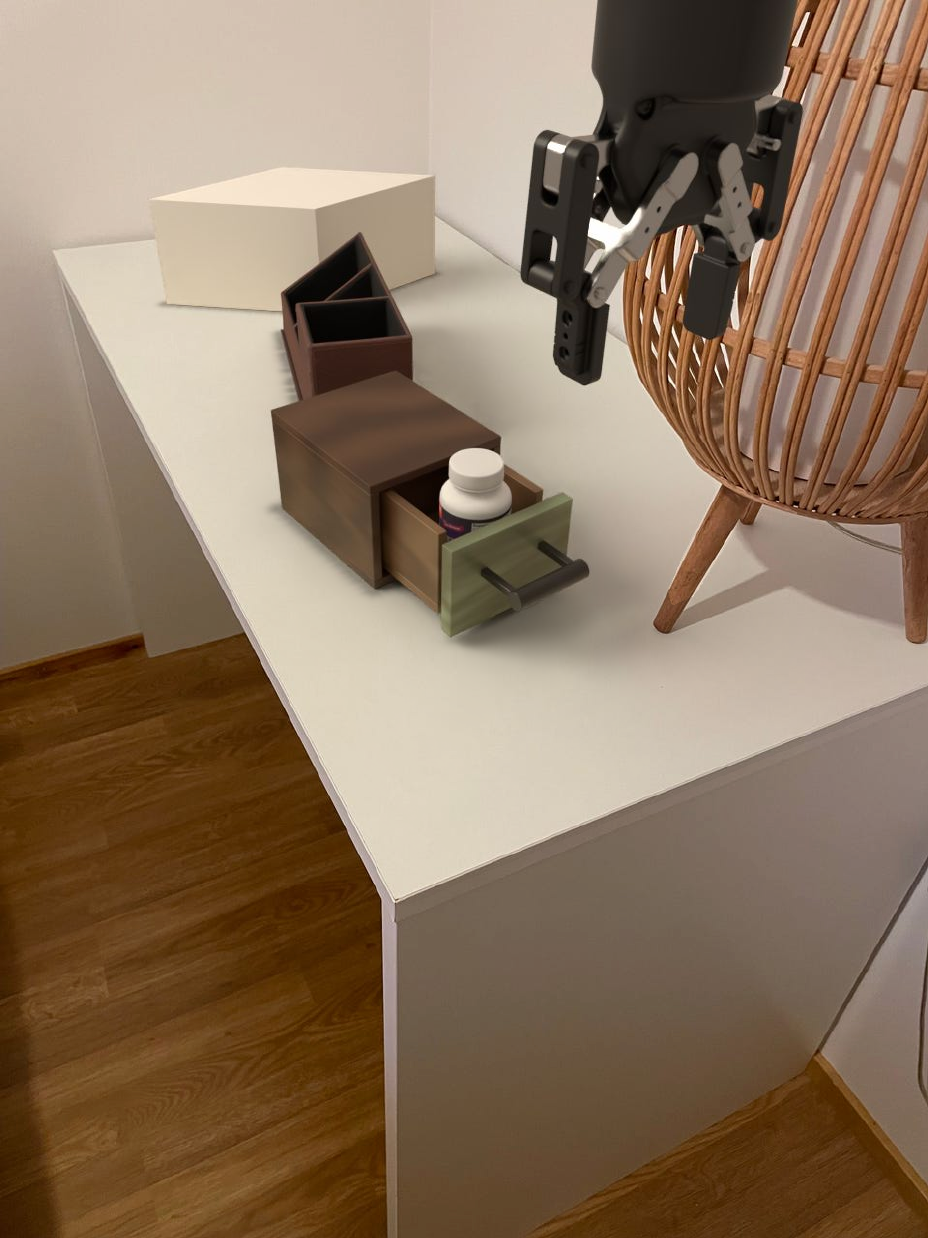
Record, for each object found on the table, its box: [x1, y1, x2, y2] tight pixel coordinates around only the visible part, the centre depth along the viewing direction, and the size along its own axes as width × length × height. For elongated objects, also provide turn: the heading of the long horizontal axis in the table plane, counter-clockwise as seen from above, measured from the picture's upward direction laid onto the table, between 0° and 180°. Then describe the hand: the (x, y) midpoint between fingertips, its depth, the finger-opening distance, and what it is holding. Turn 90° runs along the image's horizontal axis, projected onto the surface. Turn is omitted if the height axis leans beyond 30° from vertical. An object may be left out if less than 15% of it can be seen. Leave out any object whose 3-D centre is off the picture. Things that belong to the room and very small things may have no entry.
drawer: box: [378, 463, 591, 638], centre depth 75 cm, size 18×11×8 cm, turn 38°
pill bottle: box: [439, 448, 512, 542], centre depth 73 cm, size 5×5×10 cm
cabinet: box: [270, 371, 502, 590], centre depth 82 cm, size 15×13×10 cm
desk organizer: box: [279, 232, 414, 402], centre depth 101 cm, size 10×29×11 cm, turn 14°
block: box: [148, 166, 436, 312], centre depth 121 cm, size 18×35×12 cm, turn 110°
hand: (643, 354), depth 46 cm, fingers open, 8 cm apart
